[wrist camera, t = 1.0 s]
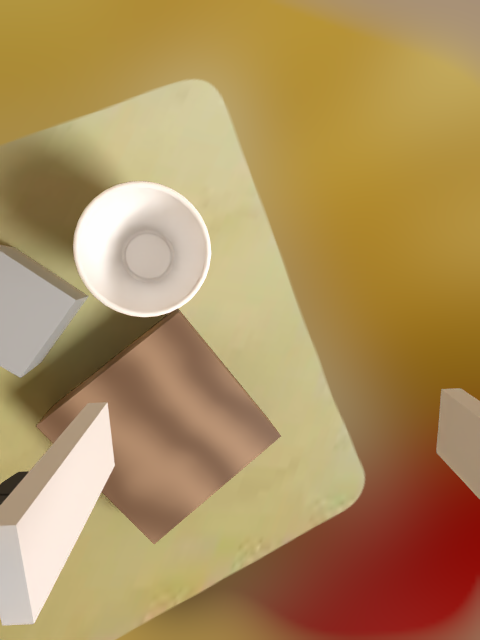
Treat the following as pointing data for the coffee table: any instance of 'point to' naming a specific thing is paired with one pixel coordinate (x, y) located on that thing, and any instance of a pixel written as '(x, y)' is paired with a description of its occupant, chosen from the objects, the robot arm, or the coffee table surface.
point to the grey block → (31, 310)
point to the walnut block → (168, 424)
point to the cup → (142, 249)
